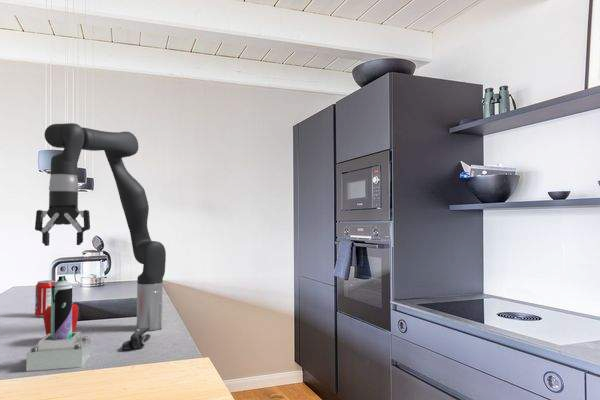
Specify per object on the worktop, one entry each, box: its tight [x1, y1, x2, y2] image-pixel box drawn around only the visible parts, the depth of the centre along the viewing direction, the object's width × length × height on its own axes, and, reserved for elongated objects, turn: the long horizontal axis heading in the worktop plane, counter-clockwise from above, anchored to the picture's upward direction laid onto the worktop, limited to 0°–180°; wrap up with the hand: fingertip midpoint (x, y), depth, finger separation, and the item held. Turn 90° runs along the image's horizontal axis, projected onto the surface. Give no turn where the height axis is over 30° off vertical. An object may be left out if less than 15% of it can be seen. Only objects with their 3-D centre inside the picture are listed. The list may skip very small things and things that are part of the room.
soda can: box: [34, 279, 56, 318], centre depth 192 cm, size 8×8×15 cm
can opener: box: [121, 327, 151, 350], centre depth 149 cm, size 18×7×6 cm, turn 1°
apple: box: [42, 302, 80, 336], centre depth 153 cm, size 11×10×14 cm
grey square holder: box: [25, 331, 92, 372], centre depth 130 cm, size 14×12×8 cm
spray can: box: [51, 275, 73, 340], centre depth 130 cm, size 6×6×20 cm
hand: (62, 245), depth 131 cm, fingers open, 8 cm apart
